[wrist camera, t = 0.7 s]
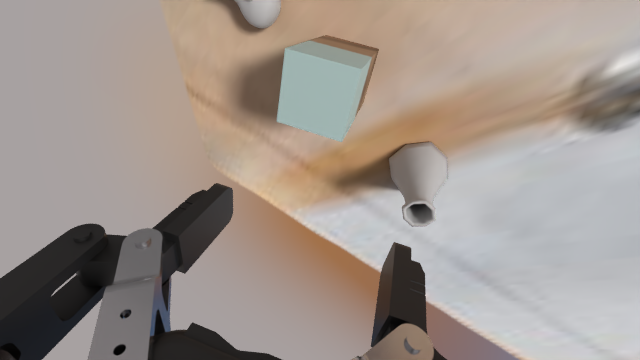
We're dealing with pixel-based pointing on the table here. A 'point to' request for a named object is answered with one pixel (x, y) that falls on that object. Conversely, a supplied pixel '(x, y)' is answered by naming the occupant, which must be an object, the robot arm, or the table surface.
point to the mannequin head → (260, 11)
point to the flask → (419, 180)
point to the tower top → (321, 88)
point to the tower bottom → (357, 49)
